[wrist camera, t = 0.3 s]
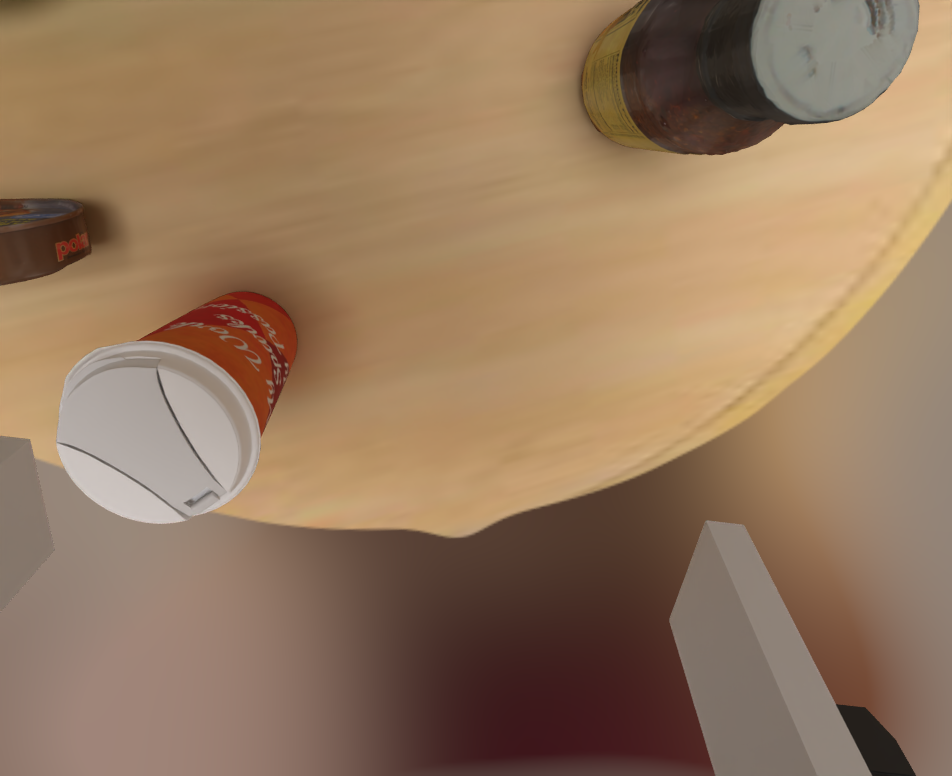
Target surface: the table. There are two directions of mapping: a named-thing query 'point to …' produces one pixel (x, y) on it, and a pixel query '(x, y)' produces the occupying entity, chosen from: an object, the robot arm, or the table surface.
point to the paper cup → (177, 410)
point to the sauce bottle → (740, 68)
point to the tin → (40, 237)
